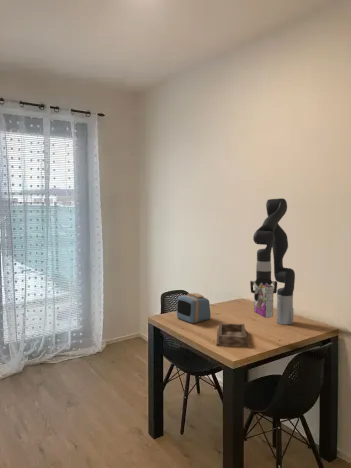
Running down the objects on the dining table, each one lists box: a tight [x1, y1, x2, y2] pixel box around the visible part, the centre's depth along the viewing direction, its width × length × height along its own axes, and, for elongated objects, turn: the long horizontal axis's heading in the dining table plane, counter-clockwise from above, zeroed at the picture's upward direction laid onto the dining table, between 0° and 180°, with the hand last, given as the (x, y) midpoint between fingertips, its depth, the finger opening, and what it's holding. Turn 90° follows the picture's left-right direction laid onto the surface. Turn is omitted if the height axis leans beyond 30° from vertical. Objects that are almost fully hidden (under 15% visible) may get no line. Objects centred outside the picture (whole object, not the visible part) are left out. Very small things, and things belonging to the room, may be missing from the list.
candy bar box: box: [253, 283, 274, 319], centre depth 204 cm, size 11×5×16 cm, turn 20°
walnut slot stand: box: [216, 322, 249, 348], centre depth 210 cm, size 16×24×4 cm, turn 173°
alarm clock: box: [176, 292, 212, 324], centre depth 243 cm, size 16×16×16 cm
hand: (263, 300), depth 204 cm, fingers closed on candy bar box, 6 cm apart
